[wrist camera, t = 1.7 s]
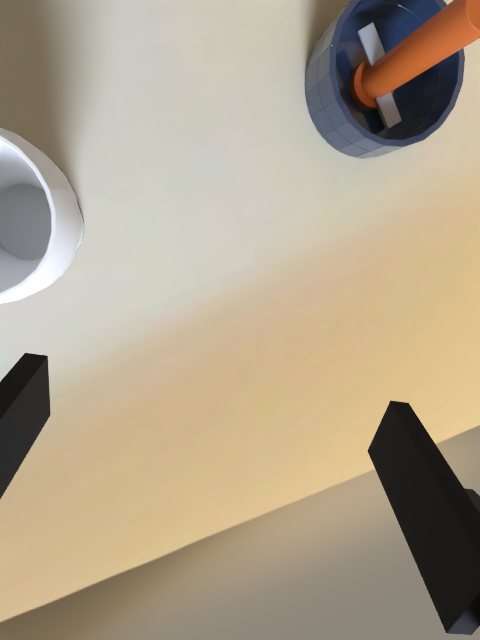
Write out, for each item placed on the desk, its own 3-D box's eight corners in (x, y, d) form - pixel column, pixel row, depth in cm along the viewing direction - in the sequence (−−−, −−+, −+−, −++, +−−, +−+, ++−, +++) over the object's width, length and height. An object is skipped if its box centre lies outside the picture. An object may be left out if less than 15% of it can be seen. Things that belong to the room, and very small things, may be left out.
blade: (332, 52, 37) (435, -53, 24) (369, 30, 37) (491, -86, 24) (369, 139, 40) (480, 89, 26) (403, 118, 40) (531, 57, 27)
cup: (-40, 161, 33) (-188, 101, 18) (93, 161, 35) (53, 107, 21) (-16, 286, 35) (-132, 320, 21) (106, 278, 37) (79, 304, 23)
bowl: (306, 6, 36) (332, -33, 31) (428, 20, 39) (471, -13, 34) (303, 156, 39) (327, 143, 34) (417, 159, 42) (456, 148, 37)
